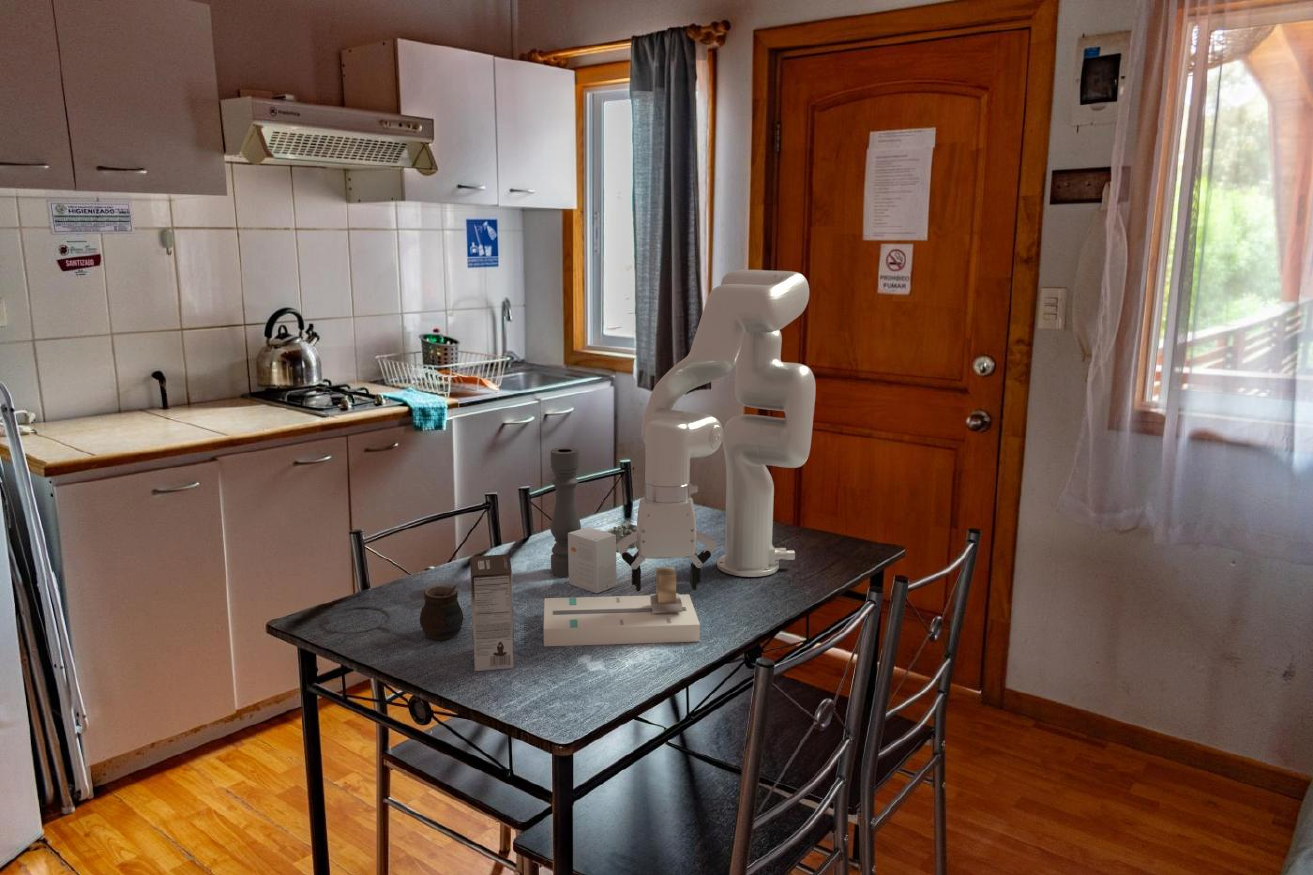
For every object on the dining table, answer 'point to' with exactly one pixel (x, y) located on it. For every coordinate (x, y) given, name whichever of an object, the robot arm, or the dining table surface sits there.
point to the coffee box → (492, 612)
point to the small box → (592, 559)
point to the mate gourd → (441, 613)
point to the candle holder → (563, 506)
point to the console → (616, 621)
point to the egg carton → (623, 533)
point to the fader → (665, 592)
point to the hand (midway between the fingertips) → (665, 588)
